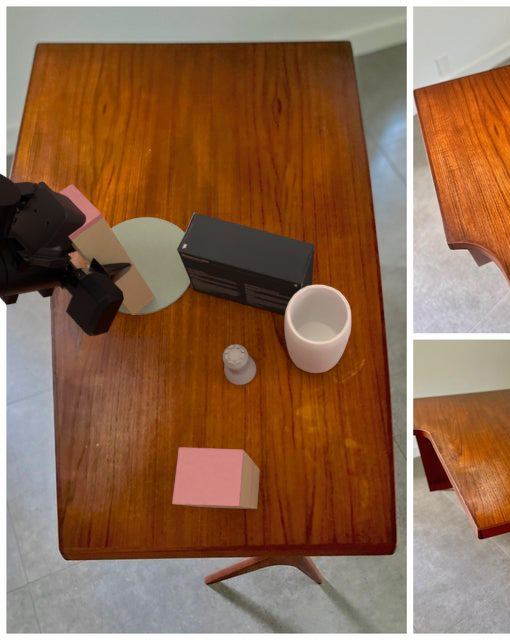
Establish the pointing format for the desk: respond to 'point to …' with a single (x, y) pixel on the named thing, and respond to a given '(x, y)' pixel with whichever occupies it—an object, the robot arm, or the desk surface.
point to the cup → (317, 327)
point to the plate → (155, 259)
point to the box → (245, 263)
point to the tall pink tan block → (216, 478)
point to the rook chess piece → (238, 365)
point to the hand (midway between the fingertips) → (116, 252)
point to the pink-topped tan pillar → (107, 251)
